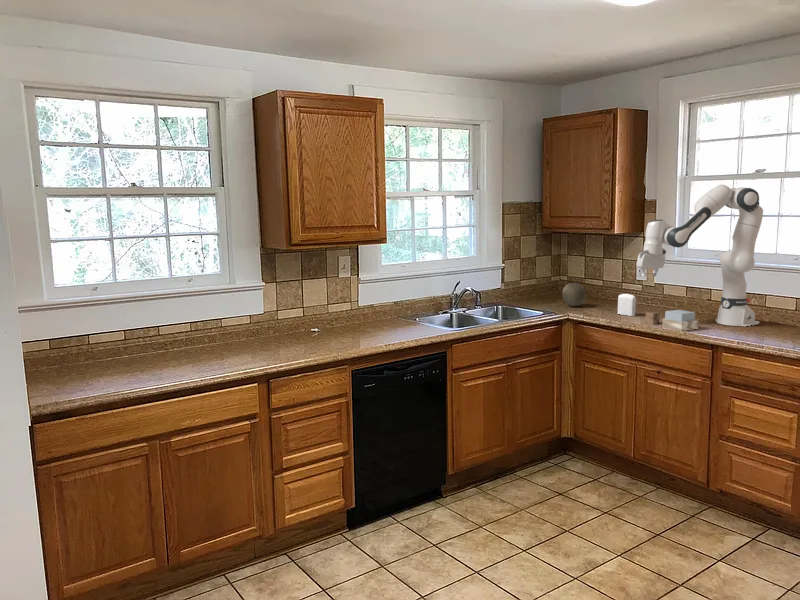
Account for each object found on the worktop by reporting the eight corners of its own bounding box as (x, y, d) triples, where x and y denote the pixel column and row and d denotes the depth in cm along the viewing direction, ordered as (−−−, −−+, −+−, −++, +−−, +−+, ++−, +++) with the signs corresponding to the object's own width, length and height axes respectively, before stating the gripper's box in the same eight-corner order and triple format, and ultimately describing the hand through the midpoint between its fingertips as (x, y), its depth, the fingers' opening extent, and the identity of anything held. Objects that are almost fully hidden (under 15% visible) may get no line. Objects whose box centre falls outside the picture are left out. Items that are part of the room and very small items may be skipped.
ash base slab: (678, 326, 338) (678, 316, 338) (697, 330, 328) (698, 320, 327) (662, 328, 333) (662, 318, 332) (681, 332, 322) (682, 322, 322)
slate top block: (678, 317, 337) (678, 309, 336) (694, 320, 328) (695, 312, 327) (665, 318, 332) (665, 311, 332) (681, 321, 323) (682, 314, 323)
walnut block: (651, 322, 347) (652, 311, 346) (659, 324, 343) (660, 313, 342) (645, 323, 345) (645, 312, 344) (652, 324, 340) (653, 313, 339)
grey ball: (564, 304, 408) (565, 281, 406) (587, 305, 402) (588, 282, 400) (559, 307, 395) (560, 283, 393) (583, 309, 389) (584, 284, 387)
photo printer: (616, 314, 371) (617, 293, 370) (620, 313, 374) (621, 292, 372) (632, 316, 364) (633, 295, 362) (636, 316, 366) (637, 294, 364)
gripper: (646, 250, 329) (642, 277, 331) (668, 251, 341) (664, 276, 343) (635, 249, 334) (631, 275, 336) (657, 249, 346) (654, 275, 348)
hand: (648, 276), depth 340 cm, fingers open, 8 cm apart
